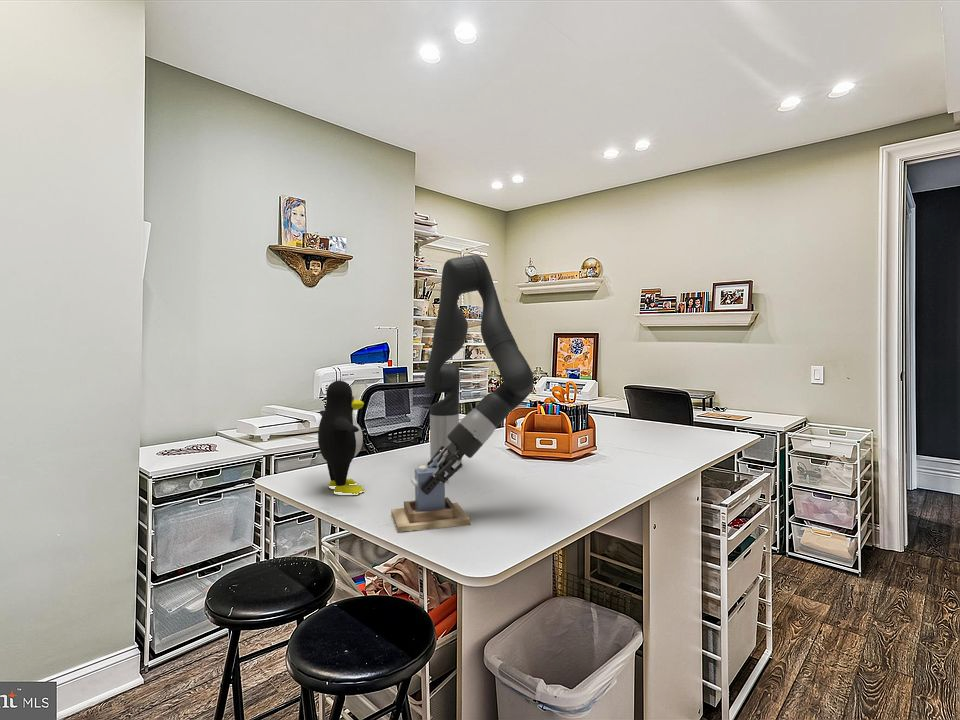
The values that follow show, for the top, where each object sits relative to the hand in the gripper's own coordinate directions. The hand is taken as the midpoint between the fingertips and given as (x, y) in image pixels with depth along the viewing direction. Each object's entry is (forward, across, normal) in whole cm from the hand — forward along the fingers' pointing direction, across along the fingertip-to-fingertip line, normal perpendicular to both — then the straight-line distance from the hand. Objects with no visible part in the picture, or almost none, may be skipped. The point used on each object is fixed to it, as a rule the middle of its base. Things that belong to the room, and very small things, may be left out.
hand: (421, 488), depth 116 cm
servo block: (+3, 0, +6) cm, 6 cm away
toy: (+17, -30, -6) cm, 35 cm away
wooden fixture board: (+4, 0, +6) cm, 7 cm away
